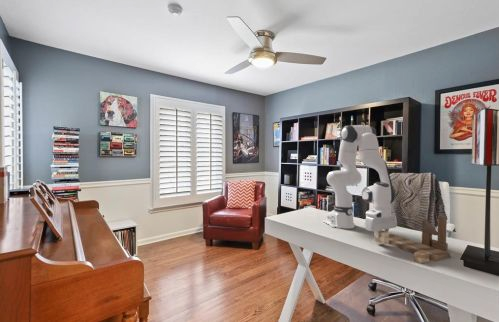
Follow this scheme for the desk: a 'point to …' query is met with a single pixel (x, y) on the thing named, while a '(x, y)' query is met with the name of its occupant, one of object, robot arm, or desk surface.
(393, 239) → the board
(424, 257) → the stop block
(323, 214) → the desk surface
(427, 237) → the brown wooden upright frame
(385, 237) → the gauge block
